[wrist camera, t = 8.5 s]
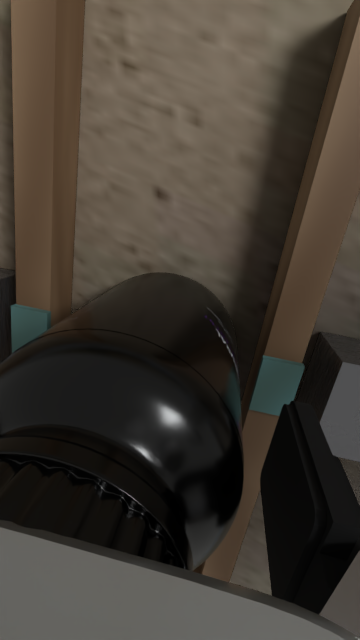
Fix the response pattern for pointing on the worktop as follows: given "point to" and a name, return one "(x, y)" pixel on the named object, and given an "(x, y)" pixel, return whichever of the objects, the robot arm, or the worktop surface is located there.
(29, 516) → the supplement bottle
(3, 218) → the worktop surface
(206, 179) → the worktop surface
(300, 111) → the worktop surface
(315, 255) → the walnut rails
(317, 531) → the robot arm
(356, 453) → the pivot blocks
